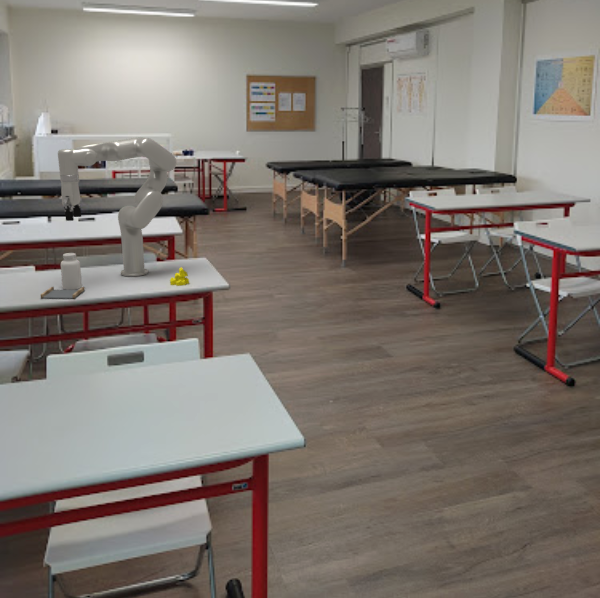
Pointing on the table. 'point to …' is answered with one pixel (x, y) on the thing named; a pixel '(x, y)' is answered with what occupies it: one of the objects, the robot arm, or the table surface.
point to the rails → (53, 289)
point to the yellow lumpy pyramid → (180, 278)
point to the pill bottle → (71, 272)
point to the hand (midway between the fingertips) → (73, 218)
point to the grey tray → (61, 294)
